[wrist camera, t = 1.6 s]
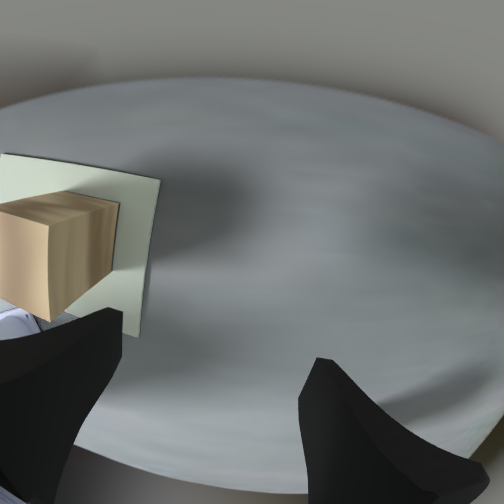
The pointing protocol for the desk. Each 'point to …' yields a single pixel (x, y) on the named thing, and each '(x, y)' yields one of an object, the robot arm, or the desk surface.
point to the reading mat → (128, 228)
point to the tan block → (55, 249)
